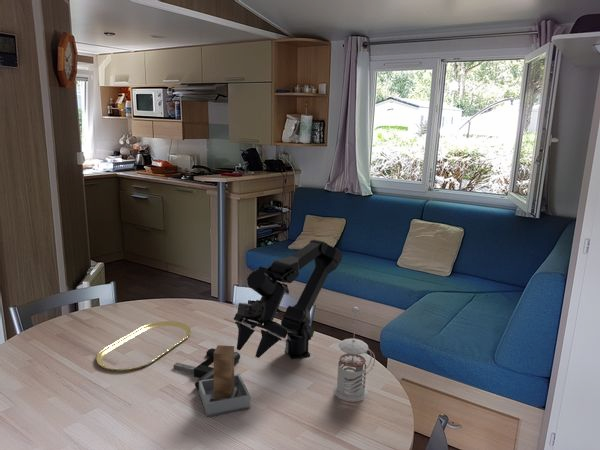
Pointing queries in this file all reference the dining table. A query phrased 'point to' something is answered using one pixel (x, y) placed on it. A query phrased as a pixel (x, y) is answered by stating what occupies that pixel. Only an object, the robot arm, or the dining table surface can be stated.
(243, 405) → the tray
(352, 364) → the french press
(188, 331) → the gold oval ring
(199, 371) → the door handle
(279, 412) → the dining table surface
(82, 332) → the dining table surface
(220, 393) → the wooden post on base
